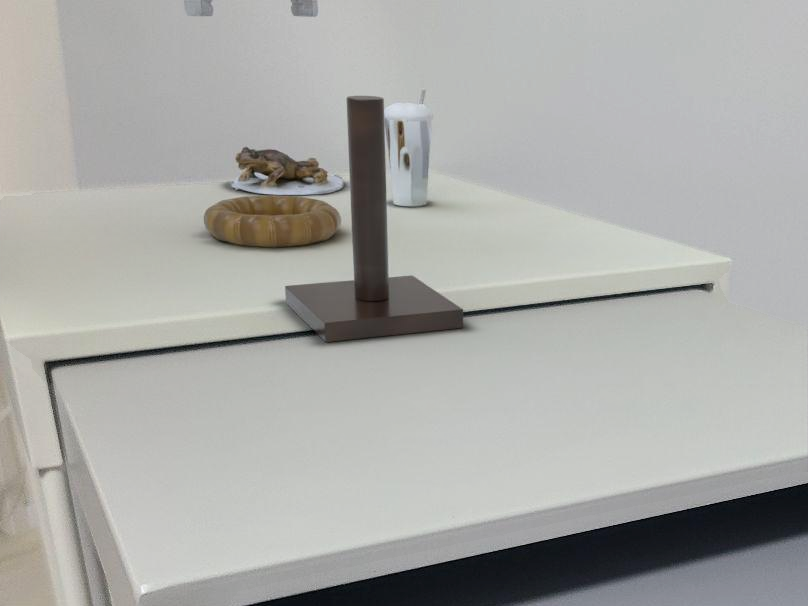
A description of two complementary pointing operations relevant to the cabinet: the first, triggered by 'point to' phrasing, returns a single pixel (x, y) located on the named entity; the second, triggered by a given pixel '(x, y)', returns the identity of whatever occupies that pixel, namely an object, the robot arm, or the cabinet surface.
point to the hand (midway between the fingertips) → (254, 16)
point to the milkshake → (409, 150)
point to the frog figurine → (282, 174)
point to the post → (370, 255)
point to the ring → (272, 220)
